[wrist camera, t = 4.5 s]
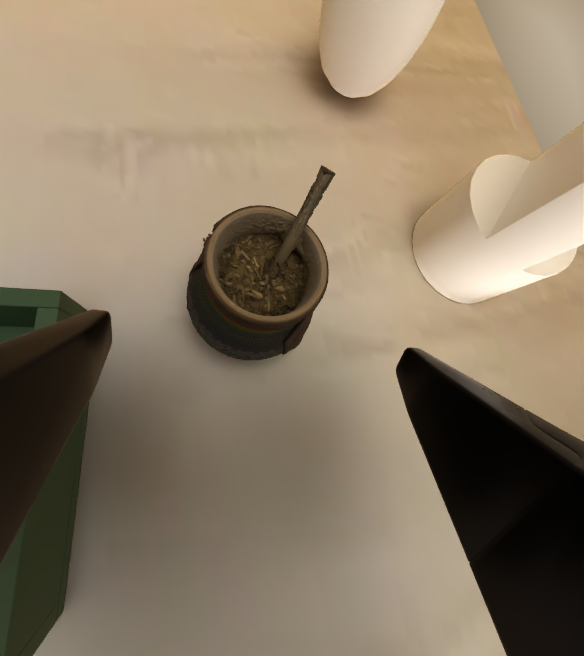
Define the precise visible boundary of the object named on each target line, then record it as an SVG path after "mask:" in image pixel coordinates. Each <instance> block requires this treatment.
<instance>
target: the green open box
mask: <svg viewBox="0 0 584 656" xmlns="http://www.w3.org/2000/svg"><path fill="white" fill-rule="evenodd" d="M86 311H87V310H86V309H85V308H83V307H82V306H81V305H79V304H78V303H77V302H75V301H74V300H72V299H71V298H70V297H68V296H67V295H66V294H64V293H63V292H62V291H54V290H37V289H20V288H3V287H0V343H3V342H5V341H8V340H11V339H13V338H16V337H19V336H21V335H24V334H27V333H30V332H32V331H35V330H38V329H40V328H43V327H46V326H48V325H51V324H54V323H56V322H59V321H62V320H65V319H67V318H70V317H73V316H75V315H78V314H81V313H83V312H86ZM88 404H89V401H88V403H87V405H86V407H85V409H84V411H83V412H82V414H81V416H80V418H79V420H78V422H77V424H76V425H75V427H74V429H73V431H72V433H71V435H70V437H69V438H68V440H67V442H66V444H65V446H64V448H63V450H62V451H61V453H60V455H59V457H58V459H57V461H56V463H55V464H54V466H53V468H52V470H51V472H50V474H49V476H48V477H47V479H46V481H45V483H44V485H43V487H42V489H41V490H40V492H39V494H38V496H37V498H36V500H35V502H34V503H33V505H32V507H31V509H30V511H29V513H28V514H27V516H26V518H25V520H24V522H23V524H22V526H21V527H20V529H19V531H18V533H17V535H16V537H15V539H14V540H13V542H12V544H11V546H10V548H9V550H8V552H7V553H6V555H5V557H4V559H3V561H2V563H1V565H0V656H33V654H34V653H35V651H36V650H37V648H38V647H39V646H40V644H41V643H42V641H43V640H44V638H45V637H46V636H47V634H48V633H49V631H50V630H51V628H52V627H53V625H54V624H55V622H56V621H57V619H58V618H59V617H60V615H61V614H62V612H63V607H64V599H65V591H66V583H67V575H68V567H69V558H70V550H71V542H72V534H73V526H74V518H75V510H76V502H77V494H78V485H79V477H80V469H81V461H82V453H83V445H84V437H85V429H86V421H87V412H88Z"/></svg>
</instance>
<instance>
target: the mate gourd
mask: <svg viewBox="0 0 584 656" xmlns="http://www.w3.org/2000/svg"><path fill="white" fill-rule="evenodd" d="M334 176H335V173H334V172H332V171H331V170H329V169H327V168H326V167H324V166H322V165H321V167H320V170H319V173H318V175H317V179H316V181H315V182H314V183H313V185H312V186H311V189H310V190H309V193H308V195H307V197H306V200H305V201H304V204H303V206H302V208H301V210H300V211H299V213H298V215H297V217H296V216H294V215H293V214H291V213H289V212H286V211H284V210H281V209H278V208H275V207H271V206H257V205H256V206H249V207H245V208H241V209H238V210H236V211H233V212H232V213H230V214H228V215H227V216H225V217H223V218H222V219H221V220H220V221H218V222H217V223H216V224H215V225H214V228H213V234H212V235H211V234H208V237H207V238H206V241H205V238H203V241H204V242H205V243H204V248H203V250H202V253H201V255H200V257H199V259H198V261H197V262H196V263H195V264H194V266H193V268H192V270H191V271H190V274H189V282H188V286H187V309H188V311H189V314H190V317H191V320H192V323H193V325H194V326H195V328H196V329H197V332H198V333H199V334H200V335H201V336H202V337H203V339H204V340H205V341H206V342H207V343H208V344H209V345H210V346H211V347H213V348H215V349H216V350H218V351H220V352H221V353H223V354H225V355H227V356H231V357H233V358H237V359H243V360H262V359H267V358H271V357H273V356H276V355H278V354H281V353H282V354H286V353H287V352H288V351H290V350H292V349H294V348H295V347H296V346H298V345H299V343H300V342H301V340H302V338H303V335H304V333H305V332H306V330H307V328H308V326H309V324H310V321H311V318H312V315H313V311H314V310H315V308H316V307H317V305H318V304H319V303H320V301H321V299H322V298H323V295H324V293H325V290H326V287H327V283H328V261H327V256H326V252H325V250H324V247H323V245H322V243H321V241H320V240H319V238H318V236H317V235H316V234H315V232H314V231H313V230H312V229H311V228H310V227H309V226H308V225H307V223H308V220H309V218H310V217H311V215H312V214H313V211H314V209H315V208H316V206H317V205H318V204H319V201H320V200H321V199H322V197H323V196H322V194H323V193H324V191H325V190H326V189H327V187H328V186H329V184H330V182H331V180H332V179H333V177H334ZM209 235H210V236H209Z"/></svg>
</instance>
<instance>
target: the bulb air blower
mask: <svg viewBox="0 0 584 656" xmlns="http://www.w3.org/2000/svg"><path fill="white" fill-rule="evenodd" d="M444 2H445V0H323V2H322V8H321V16H320V25H319V48H320V58H321V65H322V68H323V71H324V73H325V75H326V77H327V78H328V80H329V83H330V84H331V86H332V87H333V88H334V89H335V90H336V91H337V92H339V93H340V94H342V95H344V96H346V97H350V98H357V97H366V96H370V95H372V94H373V93H375V92H377V91H378V90H380V89H381V88H383V87H384V86H386V85H387V84H388V83H389V82H390V81H391V80H393V79H394V78H395V77H396V76H397V75H398V73H399V72H400V71H401V70H402V69H403V68H404V67H405V66H406V65H407V63H408V62H409V61H410V60H411V58H412V57H413V56H414V54H415V53H416V52H417V50H418V49H419V47H420V46H421V44H422V42H423V41H424V39H425V38H426V36H427V34H428V32H429V31H430V29H431V27H432V25H433V23H434V22H435V20H436V18H437V16H438V14H439V12H440V10H441V8H442V6H443V4H444Z"/></svg>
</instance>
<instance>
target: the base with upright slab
mask: <svg viewBox="0 0 584 656" xmlns="http://www.w3.org/2000/svg"><path fill="white" fill-rule="evenodd" d="M412 244H413V253H414V257H415V259H416V262H417V265H418V268H419V269H420V271H421V273H422V274H423V276H424V277H425V279H426V280H427V281H428V283H429V284H430V285H431V286H432V287H433V288H434V289H435V290H436V291H438V292H439V293H441V294H442V295H444V296H445V297H447V298H448V299H451V300H454V301H456V302H459V303H469V304H473V303H477V302H481V301H484V300H487V299H490V298H492V297H495V296H498V295H501V294H503V293H506V292H509V291H512V290H514V289H517V288H520V287H522V286H525V285H528V284H531V283H533V282H536V281H539V280H541V279H544V278H547V277H550V276H552V275H555V274H558V273H560V272H561V271H563V270H564V269H565V268H567V267H568V266H569V265H570V263H571V262H572V260H573V259H574V257H575V255H576V251H577V247H578V246H580V245H583V244H584V123H582V124H581V125H579V126H578V127H577V128H575V129H574V130H573V131H571V132H570V133H569V134H567V135H566V136H565V137H563V138H562V139H561V140H559V141H558V142H557V143H555V144H554V145H553V146H552V147H550V148H549V149H547V150H546V151H545V152H543V153H542V154H541V155H539V156H538V157H537V158H535V159H534V160H533V161H531V162H530V161H528V160H526V159H524V158H522V157H517V156H513V155H509V154H506V155H495V156H492V157H490V158H488V159H486V160H484V161H483V162H482V163H481V164H479V165H478V166H477V167H476V168H475V169H474V170H473V171H471V172H470V173H469V174H468V175H467V176H466V177H465V178H464V179H462V180H461V181H460V182H459V183H458V184H457V185H456V186H454V187H453V188H452V189H451V190H450V191H449V192H448V193H446V194H445V195H444V196H443V197H442V198H441V199H440V200H438V201H437V202H436V203H435V204H434V205H433V206H432V207H430V208H429V209H428V210H427V211H426V212H425V213H424V214H423V215H422V216H421V217H420V218H419V219H418V221H417V223H416V225H415V228H414V232H413V238H412Z"/></svg>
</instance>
